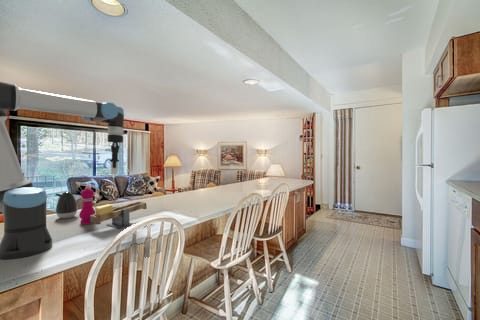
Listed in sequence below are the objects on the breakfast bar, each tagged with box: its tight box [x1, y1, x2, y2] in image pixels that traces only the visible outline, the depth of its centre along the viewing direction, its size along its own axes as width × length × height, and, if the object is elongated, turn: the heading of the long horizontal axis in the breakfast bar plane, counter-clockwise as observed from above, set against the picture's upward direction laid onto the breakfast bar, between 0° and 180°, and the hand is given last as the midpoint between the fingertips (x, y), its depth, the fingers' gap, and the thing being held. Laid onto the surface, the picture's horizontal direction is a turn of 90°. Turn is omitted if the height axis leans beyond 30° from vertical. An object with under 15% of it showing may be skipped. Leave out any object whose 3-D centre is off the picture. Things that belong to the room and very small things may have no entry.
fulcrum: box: [106, 206, 134, 230], centre depth 117 cm, size 8×12×9 cm, turn 59°
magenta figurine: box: [78, 185, 96, 226], centre depth 120 cm, size 7×7×20 cm
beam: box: [90, 201, 147, 225], centre depth 117 cm, size 26×7×4 cm, turn 149°
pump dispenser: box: [55, 191, 78, 220], centre depth 131 cm, size 10×10×15 cm
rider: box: [94, 203, 114, 217], centre depth 110 cm, size 6×4×4 cm, turn 149°
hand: (114, 173), depth 123 cm, fingers open, 13 cm apart
